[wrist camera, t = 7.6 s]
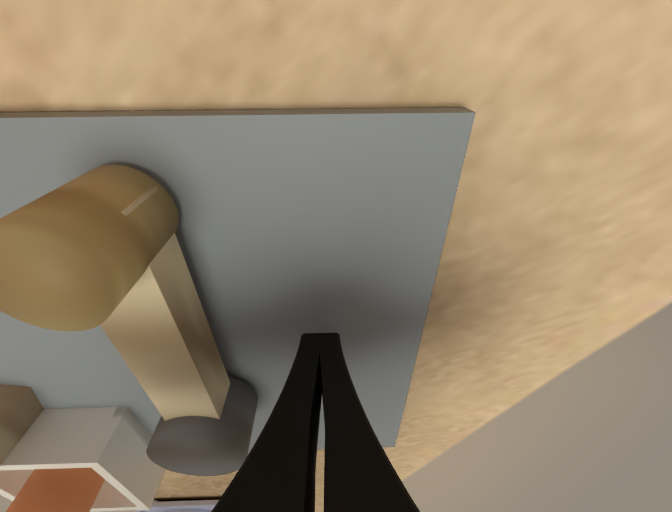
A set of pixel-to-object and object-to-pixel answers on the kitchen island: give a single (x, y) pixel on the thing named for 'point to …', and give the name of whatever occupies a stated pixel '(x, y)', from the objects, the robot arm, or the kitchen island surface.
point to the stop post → (16, 415)
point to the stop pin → (58, 491)
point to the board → (258, 241)
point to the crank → (130, 307)
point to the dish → (88, 454)
